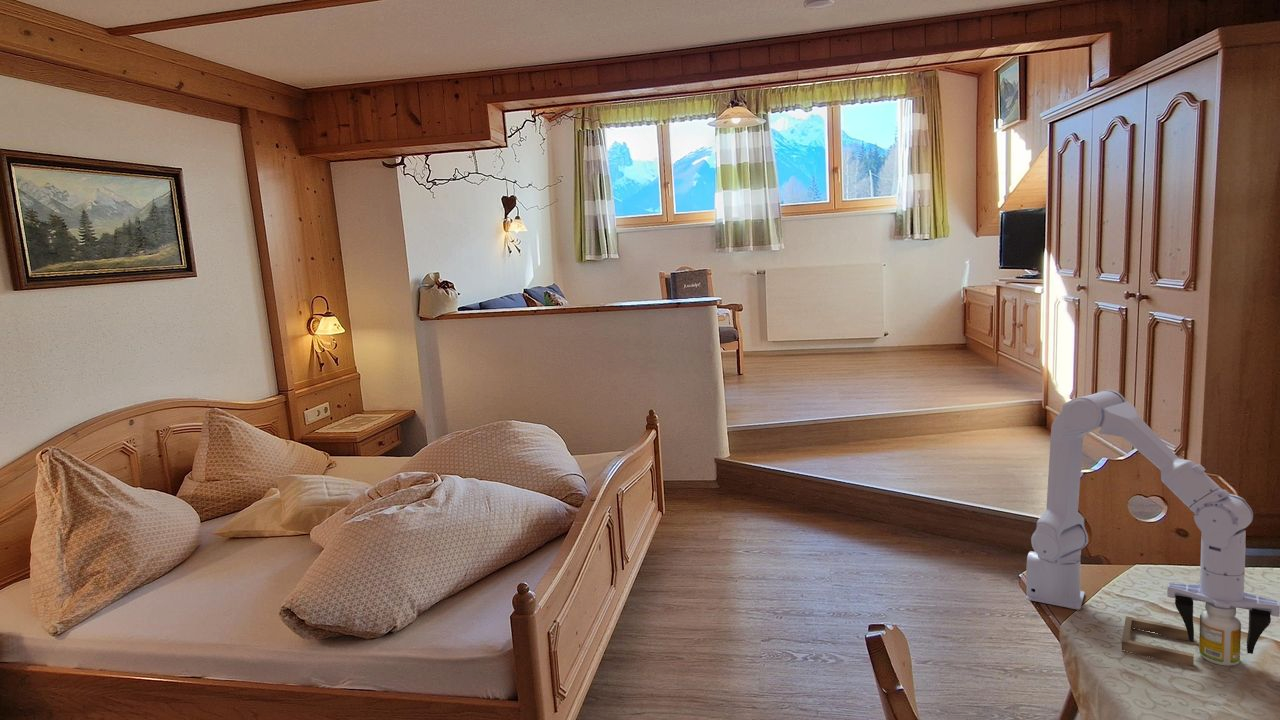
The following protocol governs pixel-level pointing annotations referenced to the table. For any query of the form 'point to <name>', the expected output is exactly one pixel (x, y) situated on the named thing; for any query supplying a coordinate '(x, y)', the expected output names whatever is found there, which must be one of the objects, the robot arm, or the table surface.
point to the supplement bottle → (1220, 635)
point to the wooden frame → (1154, 650)
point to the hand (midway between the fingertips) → (1219, 644)
